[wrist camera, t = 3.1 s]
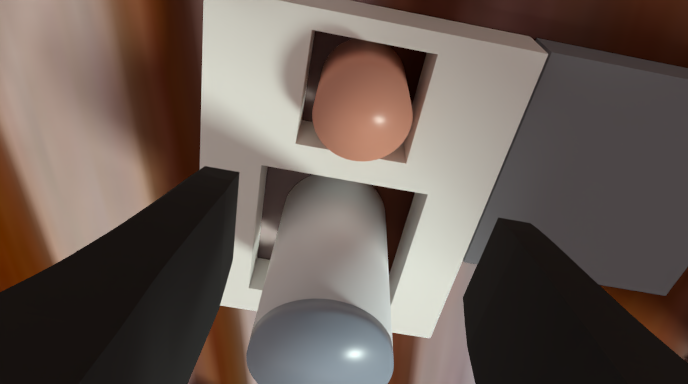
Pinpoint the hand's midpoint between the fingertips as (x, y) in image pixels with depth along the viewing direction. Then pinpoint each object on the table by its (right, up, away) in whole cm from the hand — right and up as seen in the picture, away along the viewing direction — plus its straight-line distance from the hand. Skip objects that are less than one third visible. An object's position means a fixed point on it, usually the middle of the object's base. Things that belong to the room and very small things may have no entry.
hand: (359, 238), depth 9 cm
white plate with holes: (0, +2, +9) cm, 9 cm away
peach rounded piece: (0, +5, +8) cm, 9 cm away
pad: (+9, +2, +8) cm, 12 cm away
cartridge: (-1, 0, +10) cm, 10 cm away
